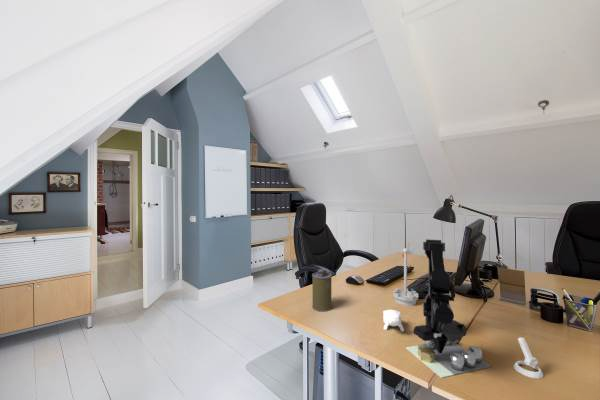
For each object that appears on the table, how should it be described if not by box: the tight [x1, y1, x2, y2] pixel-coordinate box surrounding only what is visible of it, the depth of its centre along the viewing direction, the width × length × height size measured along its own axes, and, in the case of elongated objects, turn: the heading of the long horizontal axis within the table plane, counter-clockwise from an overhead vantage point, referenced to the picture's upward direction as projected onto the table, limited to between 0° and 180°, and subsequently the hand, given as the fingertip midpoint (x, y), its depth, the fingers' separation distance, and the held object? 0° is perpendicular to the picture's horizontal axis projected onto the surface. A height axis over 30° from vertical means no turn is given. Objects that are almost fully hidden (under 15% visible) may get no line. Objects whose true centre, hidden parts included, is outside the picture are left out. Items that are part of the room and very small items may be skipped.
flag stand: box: [392, 247, 419, 307], centre depth 151 cm, size 13×13×30 cm
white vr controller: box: [513, 336, 544, 379], centre depth 94 cm, size 8×12×7 cm
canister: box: [311, 268, 333, 312], centre depth 144 cm, size 11×10×20 cm
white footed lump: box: [382, 309, 405, 332], centre depth 122 cm, size 9×8×15 cm
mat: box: [405, 341, 492, 379], centre depth 100 cm, size 18×21×1 cm
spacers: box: [423, 340, 483, 371], centre depth 101 cm, size 18×14×4 cm
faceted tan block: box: [418, 346, 435, 363], centre depth 99 cm, size 5×6×3 cm
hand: (439, 352), depth 101 cm, fingers closed
